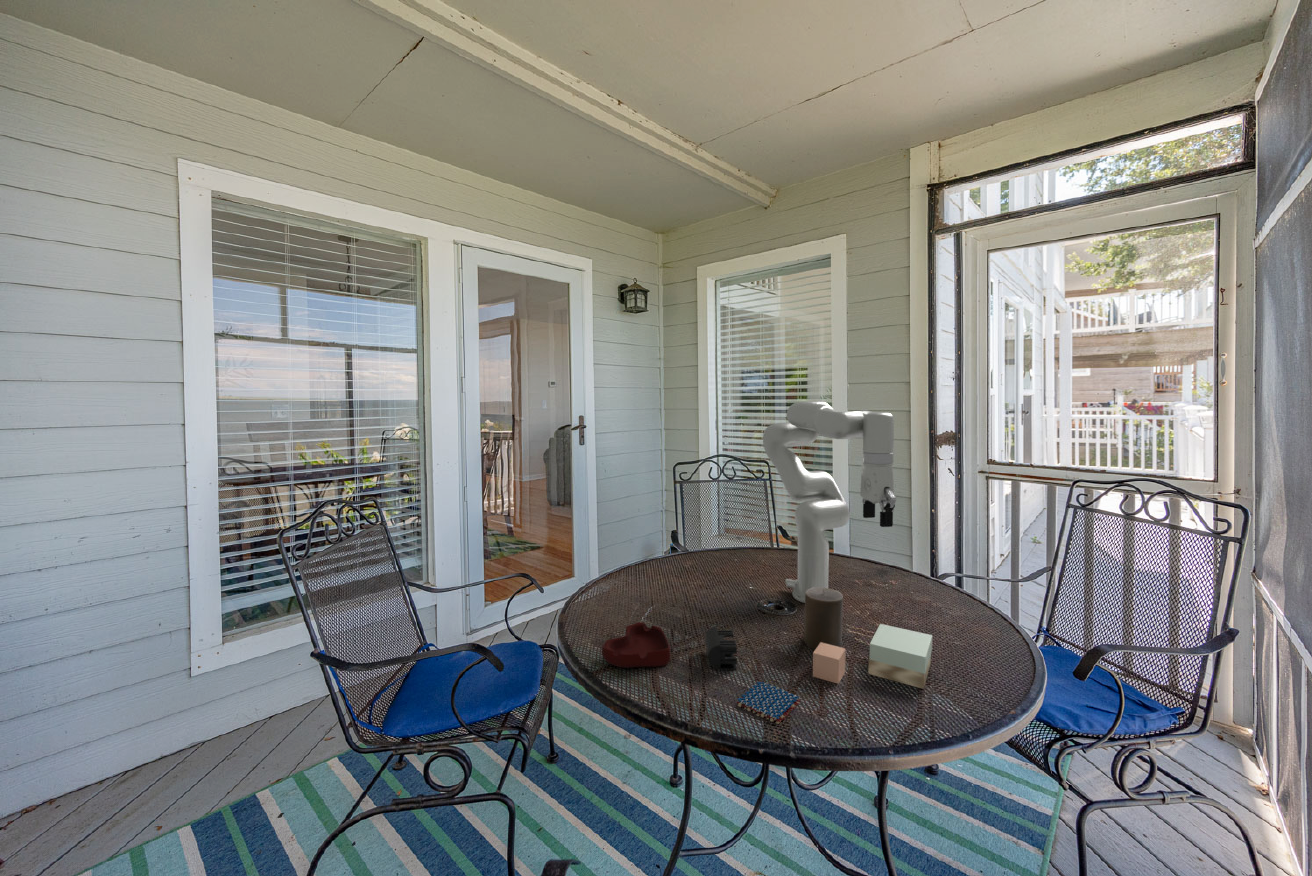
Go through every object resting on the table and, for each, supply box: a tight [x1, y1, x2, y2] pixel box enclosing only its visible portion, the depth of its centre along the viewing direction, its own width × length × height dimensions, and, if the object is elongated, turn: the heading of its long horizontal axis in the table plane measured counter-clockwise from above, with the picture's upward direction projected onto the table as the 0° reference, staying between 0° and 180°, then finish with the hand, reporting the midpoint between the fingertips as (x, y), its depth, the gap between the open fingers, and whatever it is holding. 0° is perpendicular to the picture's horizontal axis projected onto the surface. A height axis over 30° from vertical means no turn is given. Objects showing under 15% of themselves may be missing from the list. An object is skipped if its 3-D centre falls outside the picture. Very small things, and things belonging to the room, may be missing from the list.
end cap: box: [704, 626, 738, 671], centre depth 136 cm, size 10×7×7 cm
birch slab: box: [867, 654, 932, 690], centre depth 130 cm, size 12×12×4 cm
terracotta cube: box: [812, 642, 847, 685], centre depth 129 cm, size 6×6×6 cm
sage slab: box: [869, 623, 933, 674], centre depth 130 cm, size 12×12×4 cm
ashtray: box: [601, 621, 671, 669], centre depth 138 cm, size 18×16×5 cm
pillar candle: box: [803, 587, 844, 651], centre depth 143 cm, size 10×10×15 cm
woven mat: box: [737, 681, 801, 725], centre depth 118 cm, size 10×11×2 cm
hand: (877, 521), depth 145 cm, fingers open, 9 cm apart
